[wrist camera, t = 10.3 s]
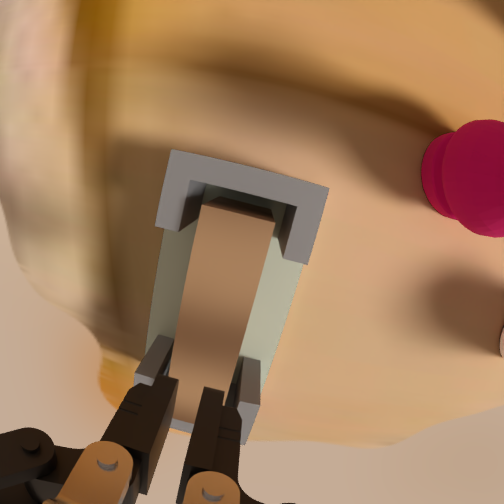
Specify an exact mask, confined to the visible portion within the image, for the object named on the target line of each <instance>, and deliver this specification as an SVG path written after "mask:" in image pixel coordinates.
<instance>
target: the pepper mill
mask: <svg viewBox="0 0 504 504" xmlns="http://www.w3.org/2000/svg"><path fill="white" fill-rule="evenodd" d="M421 177H422V184H423V189H424V191H425V194H426V196H427V198H428V200H429V202H430V203H431V205H432V206H433V207H434V208H435V209H436V210H437V211H438V212H439V213H440V214H442V215H443V216H445V217H448V218H451V219H455V220H458V221H459V222H460V223H461V224H462V225H463V226H464V227H466V228H467V229H469V230H470V231H472V232H474V233H476V234H479V235H484V236H489V237H504V122H501V121H497V120H475V121H472V122H469V123H467V124H465V125H463V126H462V127H460V128H459V129H458V130H457V131H456V132H452V133H447V134H443V135H441V136H439V137H437V138H435V139H434V140H433V141H432V142H431V144H430V145H429V146H428V148H427V150H426V152H425V154H424V158H423V162H422V169H421Z"/></svg>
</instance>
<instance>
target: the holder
mask: <svg viewBox="0 0 504 504" xmlns="http://www.w3.org/2000/svg"><path fill="white" fill-rule="evenodd" d="M328 192H329V188H327V187H324V186H321V185H317V184H314V183H310V182H307V181H303V180H300V179H296V178H292V177H289V176H285V175H281V174H277V173H274V172H270V171H266V170H262V169H258V168H254V167H250V166H246V165H242V164H238V163H234V162H229V161H225V160H221V159H216V158H212V157H207V156H203V155H198V154H194V153H189V152H184V151H179V150H174V149H171V153H170V157H169V161H168V166H167V170H166V174H165V179H164V183H163V188H162V192H161V197H160V202H159V207H158V212H157V217H156V222H155V226H156V227H160V228H164V233H163V238H162V244H161V249H160V254H159V260H158V266H157V272H156V278H155V284H154V290H153V297H152V304H151V310H150V318H149V325H148V333H147V341H146V349H145V357H144V358H143V360H142V361H141V363H140V365H139V366H138V368H137V370H136V371H135V375H134V386H135V385H137V384H138V383H143V384H146V385H149V386H152V384H153V382H154V380H155V378H156V376H157V375H158V373H159V374H162V375H166V376H169V370H170V364H171V357H172V351H173V345H174V340H175V334H176V328H177V323H178V317H179V312H180V306H181V301H182V296H183V291H184V286H185V281H186V276H187V271H188V266H189V261H190V256H191V251H192V247H193V242H194V238H195V233H196V228H197V224H198V220H199V215H200V211H201V206H202V204H204V203H206V202H208V201H210V200H213V199H215V198H217V197H219V196H221V197H225V198H229V199H233V200H237V201H241V202H245V203H249V204H253V205H257V206H261V207H265V208H268V209H271V210H272V214H273V217H274V220H275V227H274V230H273V234H272V238H271V241H270V245H269V249H268V252H267V256H266V260H265V263H264V267H263V271H262V274H261V278H260V281H259V285H258V289H257V292H256V296H255V299H254V303H253V307H252V310H251V314H250V317H249V321H248V324H247V328H246V332H245V335H244V339H243V342H242V346H241V349H240V353H239V356H238V360H237V363H236V367H235V370H234V374H233V377H232V381H231V384H230V387H229V391H228V394H227V398H226V401H225V405H224V406H227V407H232V408H236V409H237V410H238V412H239V414H240V416H241V418H242V429H241V441H240V444H241V445H245V444H246V441H247V439H248V436H249V434H250V431H251V429H252V426H253V423H254V421H255V418H256V415H257V413H258V410H259V407H260V395H261V392H262V389H263V386H264V384H265V381H266V378H267V375H268V372H269V369H270V366H271V363H272V361H273V358H274V355H275V352H276V349H277V346H278V343H279V340H280V337H281V334H282V331H283V328H284V325H285V322H286V318H287V315H288V312H289V309H290V306H291V303H292V300H293V297H294V293H295V290H296V287H297V284H298V280H299V277H300V274H301V271H302V267H303V264H306V265H308V262H309V258H310V255H311V251H312V248H313V245H314V241H315V238H316V234H317V231H318V228H319V224H320V221H321V217H322V213H323V210H324V206H325V203H326V199H327V195H328ZM193 427H194V424H192V423H188V422H184V421H180V420H177V419H173V418H172V421H171V425H170V428H173V429H177V430H180V431H184V432H188V433H192V431H193Z"/></svg>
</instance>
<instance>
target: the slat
mask: <svg viewBox="0 0 504 504" xmlns="http://www.w3.org/2000/svg"><path fill="white" fill-rule="evenodd" d="M274 227H275V220H274V217H273V214H272V210H271V209H268V208H265V207H261V206H257V205H253V204H249V203H245V202H241V201H237V200H233V199H229V198H225V197H221V196H219V197H217V198H215V199H213V200H210V201H208V202H206V203H204V204H202V206H201V211H200V215H199V220H198V224H197V228H196V233H195V238H194V242H193V247H192V251H191V256H190V261H189V266H188V271H187V276H186V281H185V286H184V291H183V296H182V301H181V306H180V312H179V317H178V323H177V328H176V334H175V340H174V345H173V351H172V357H171V364H170V370H169V377H172V378H176V379H179V384H178V390H177V396H176V402H175V408H174V413H173V417H172V418H173V419H177V420H180V421H184V422H188V423H192V424H194V423H195V419H196V415H197V411H198V408H199V404H200V400H201V396H202V392H203V388H204V386H206V387H210V388H214V389H218V390H222V391H225V394H224V400H223V406H224V405H225V401H226V398H227V394H228V391H229V387H230V384H231V381H232V377H233V374H234V370H235V367H236V363H237V360H238V356H239V353H240V349H241V346H242V342H243V339H244V335H245V332H246V328H247V324H248V321H249V317H250V314H251V310H252V307H253V303H254V299H255V296H256V292H257V289H258V285H259V281H260V278H261V274H262V271H263V267H264V263H265V260H266V256H267V252H268V249H269V245H270V241H271V238H272V234H273V230H274Z"/></svg>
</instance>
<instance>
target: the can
mask: <svg viewBox="0 0 504 504" xmlns="http://www.w3.org/2000/svg"><path fill="white" fill-rule="evenodd" d="M500 352H501V355H502V357H503V358H504V326H503V329H502V332H501V336H500Z"/></svg>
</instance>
